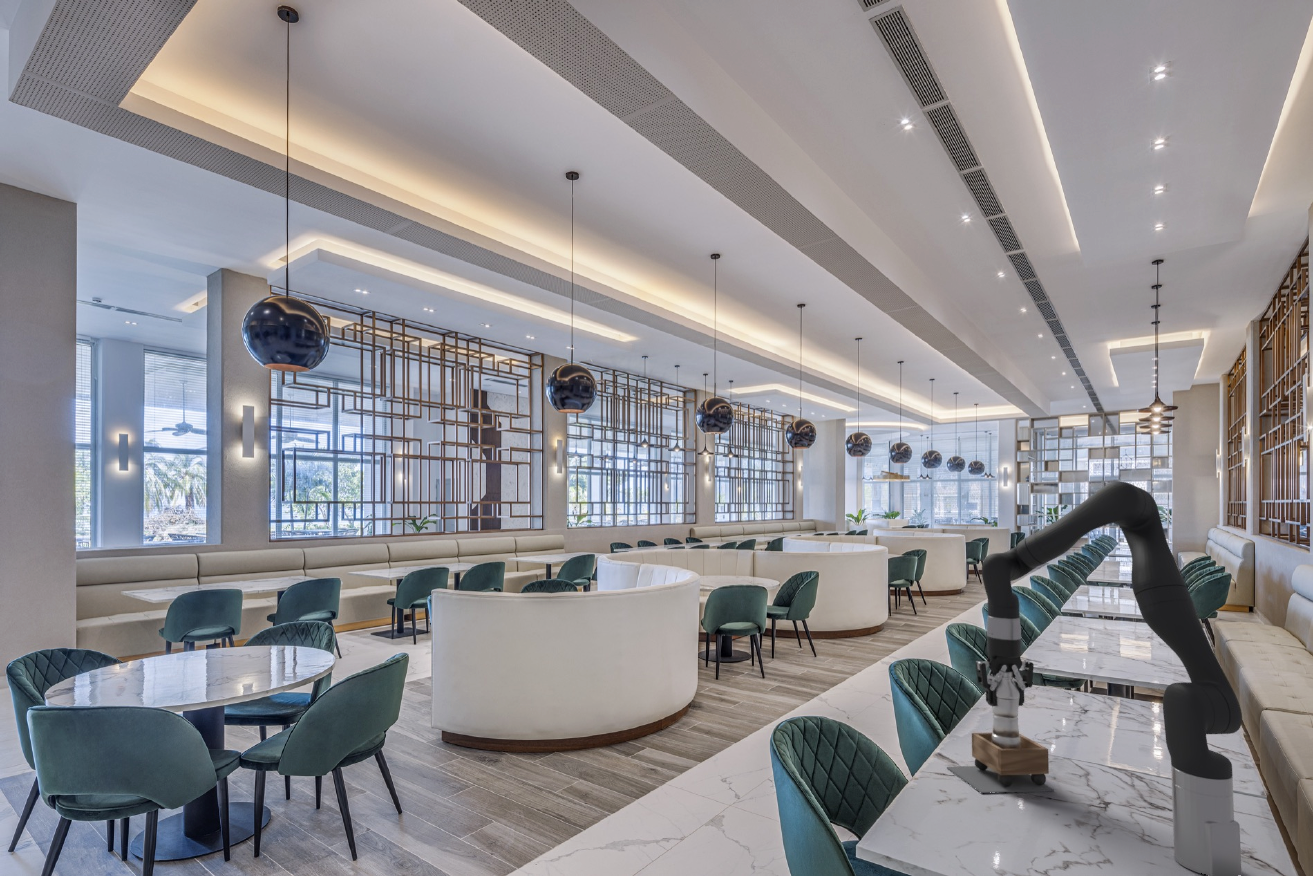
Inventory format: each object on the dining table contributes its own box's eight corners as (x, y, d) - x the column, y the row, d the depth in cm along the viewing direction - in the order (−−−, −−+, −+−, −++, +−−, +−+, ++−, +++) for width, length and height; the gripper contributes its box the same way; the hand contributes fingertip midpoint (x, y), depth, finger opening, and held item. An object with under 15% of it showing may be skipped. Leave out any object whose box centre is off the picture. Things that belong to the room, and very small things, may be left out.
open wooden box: (1049, 786, 167) (1048, 749, 168) (1001, 787, 166) (1000, 750, 166) (1017, 766, 179) (1016, 732, 180) (972, 767, 178) (971, 733, 178)
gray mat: (1054, 791, 166) (1053, 789, 166) (981, 794, 163) (981, 792, 163) (1014, 766, 180) (1013, 765, 181) (946, 768, 178) (946, 767, 178)
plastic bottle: (1025, 761, 169) (1023, 674, 170) (994, 758, 170) (993, 672, 172) (1017, 751, 175) (1015, 668, 177) (987, 749, 176) (986, 666, 178)
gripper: (985, 638, 170) (986, 710, 169) (1041, 638, 172) (1042, 709, 171) (967, 632, 178) (968, 701, 176) (1021, 632, 179) (1023, 700, 178)
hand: (1005, 705), depth 173 cm, fingers closed on plastic bottle, 6 cm apart
